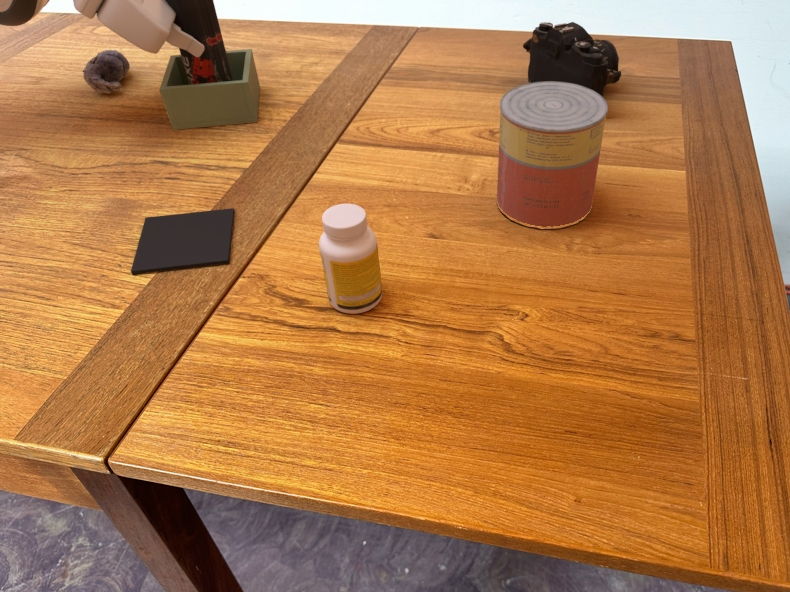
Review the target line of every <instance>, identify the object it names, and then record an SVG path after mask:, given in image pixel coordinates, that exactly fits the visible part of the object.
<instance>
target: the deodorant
mask: <svg viewBox="0 0 790 592" xmlns="http://www.w3.org/2000/svg"><path fill="white" fill-rule="evenodd" d="M165 1H166V2H167V3H168V4H169V6H170V7H171V8H172V9H173V10H174V11H175V13H176V17H175V20H174V24H176V25H177V26H178V27H180V28H181V31H183V32H185V33H187V34H188V35H190V36H192V37H194V36H196V37H197V38H199V39H200V40H201V41H203V42H204V43H205V49H204V51H203V53H202V54H201V56H200V57H195V56H194V55H192V54H191V53H190V52H188V51H187V50H184V49H181V48H178V50H179V53H180V54H179V55H181V57H182V60H183V64H184V67H185V70H186V74H187V77H188V80H189V84H190V85H192V84H204V83H215V82H227V81H233V78H232V74H231V70H230V66H229V62H228V58H227V54H226V51H227V50H226V46H225V43H224V38H223V34H222V31H221V27H220V22H219V18H218V14H217V10H216V6H215V2H214V0H165Z"/></svg>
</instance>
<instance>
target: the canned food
mask: <svg viewBox="0 0 790 592" xmlns="http://www.w3.org/2000/svg"><path fill="white" fill-rule="evenodd" d="M499 100H500V101H499V111H500V113H499V114H500V115H499V134H498V135H499V137H498V139H499V140H498V162H497V163H498V165H497V187H496V188H497V189H496V190H497V191H496V196H497V202H498V204H499V207H500V208H501V209H502V210H503V212H505V213H506V214H507V215H509V216H510V217H512V218H514V219H516V220H518V221H521V222H523V223H527V224H530V225H535V226H542V227H547V226H551V227H553V226H560V225H565V224H569V223H573V222H575V221H577V220H579V219H581V218H582V217H584V216H585V215H586V214H587V213H588V212H589V211H590V209H591V206H592V201H593V200H594V195H595V194H594V193H595V187H596V181H597V174H598V169H599V162H600V155H601V150H602V145H603V144H602V142H603V137H604V131H605V124H606V117H607V114H608V111H609V105H608V102H607V100H606V99H605V98H604V96H603V97H602V96H601V95H600V94H598V93H597V92H595V91H593V90H591V89H589V88H586V87H583V86H580V85H577V84H572V83H566V82H555V81H545V82H534V83H531V82H529V83H525V84H521V85H518V86H516V87H513V88H511V89H510V90H508V91H506V93H504V94H503V95H502V96H501V98H500V99H499ZM592 207H593V206H592Z"/></svg>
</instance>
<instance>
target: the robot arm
mask: <svg viewBox="0 0 790 592" xmlns="http://www.w3.org/2000/svg"><path fill="white" fill-rule="evenodd" d="M49 2H50V0H0V25H1V26H4V27H18V26H22V25H25V24H26V23H28V22H30V21H31V20H33V19H35V17H37V16H38V14H39V13H40V12H41V11H42V10H43V9H44V7H46V6H47V5H48V4H49ZM72 3H73V7H74V9H75V10H76V11H77V12H78V13H80V14H81V15H82V16H83V17H86V18H88V19H91V20H93V19H94V18H95V17H96V18H97V19H98V21H99V22H100V23H101V24H102V25H103V26H104V27H106V28H107V29H108V30H109V31H111V32H113V33H114V34H116V35H118V36H119V37H121V38H122V39H124V40H125V41H127V42H129V43H130V44H132V45H133V46H135V47H137V48H138V49H140V50H142V51H144V52H147V53H151V54H155V55H156V54H158V53H159V52H160V50H161V49H162V47H163V46H164V45H165V43H168V44H169V45H170V46H173V47H175V48H178V49H179V48H181V49H184V50H187V51H188V52H190V53H191V54H192V55H194V56H195V57H200V56H201V54H202V53H203V51H204V49H205V43H204V42H203V41H201V40H200V39H199V38H197V37H196V36H194V37H192V36H190V35H188V34H187V33H185V32H183V31H181V28H180V27H178V26H177V25H176V24H174V20H175V17H176V13H175V11H174V10H173V9H172V8H171V7H170V6H169V4H168V3H167V2H166V1H165V0H72Z"/></svg>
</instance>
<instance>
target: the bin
mask: <svg viewBox="0 0 790 592" xmlns="http://www.w3.org/2000/svg"><path fill="white" fill-rule="evenodd" d="M226 54H227V58H228V62H229V66H230V70H231V74H232V78H233V81H227V82H215V83H204V84H192V85H190V84H189V80H188V77H187V74H186V70H185V67H184V64H183V60H182V57H181V54H172V55H170V56H169V59H168V63H167V65H166V67H165V71H164V75H163V78H162V81H161V84H160V86H159V93H160V96H161V98H162V101H163V104H164V108H165V110H166V113H167V117H168V119H169V123H170V125H171V126H170V127H171V128H172V129H171V130H173V131H176V130H177V131H178V130H186V129H187V130H188V129H189V130H190V129H197V128H208V127H218V126H219V127H220V126H230V125H240V124H251V123H258V121H259V120H258V119H259V106H260V94H261V85H260V79H259V76H258V71H257V67H256V62H255V57H254V52H253V49H252V48H246V49H245V48H244V49H233V50H226Z"/></svg>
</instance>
